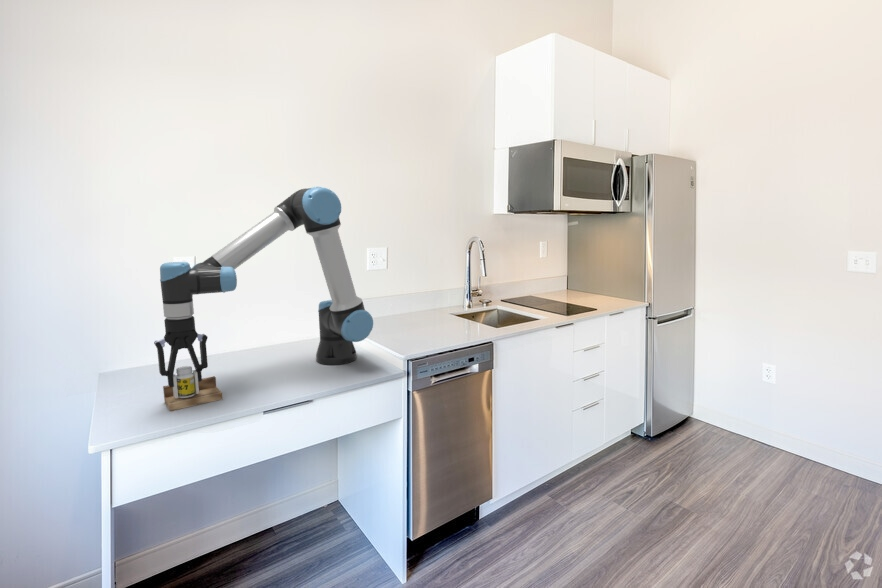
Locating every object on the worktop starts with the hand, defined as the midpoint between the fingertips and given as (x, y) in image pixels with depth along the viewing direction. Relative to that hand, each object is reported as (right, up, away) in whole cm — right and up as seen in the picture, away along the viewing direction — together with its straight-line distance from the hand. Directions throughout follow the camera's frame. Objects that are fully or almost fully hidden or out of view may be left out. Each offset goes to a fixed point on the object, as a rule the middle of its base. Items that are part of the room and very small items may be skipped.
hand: (186, 394), depth 139 cm
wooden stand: (+1, -2, +2) cm, 3 cm away
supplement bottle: (0, 0, 0) cm, 1 cm away
